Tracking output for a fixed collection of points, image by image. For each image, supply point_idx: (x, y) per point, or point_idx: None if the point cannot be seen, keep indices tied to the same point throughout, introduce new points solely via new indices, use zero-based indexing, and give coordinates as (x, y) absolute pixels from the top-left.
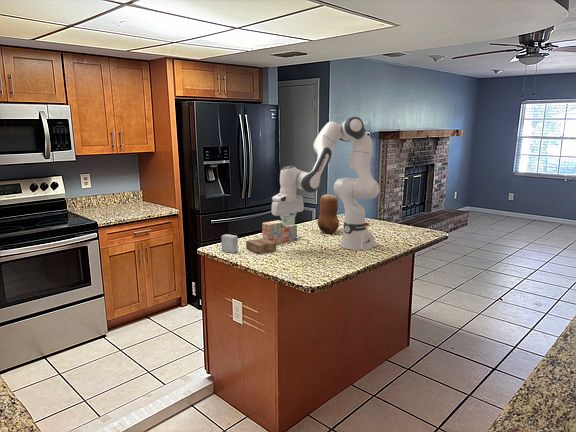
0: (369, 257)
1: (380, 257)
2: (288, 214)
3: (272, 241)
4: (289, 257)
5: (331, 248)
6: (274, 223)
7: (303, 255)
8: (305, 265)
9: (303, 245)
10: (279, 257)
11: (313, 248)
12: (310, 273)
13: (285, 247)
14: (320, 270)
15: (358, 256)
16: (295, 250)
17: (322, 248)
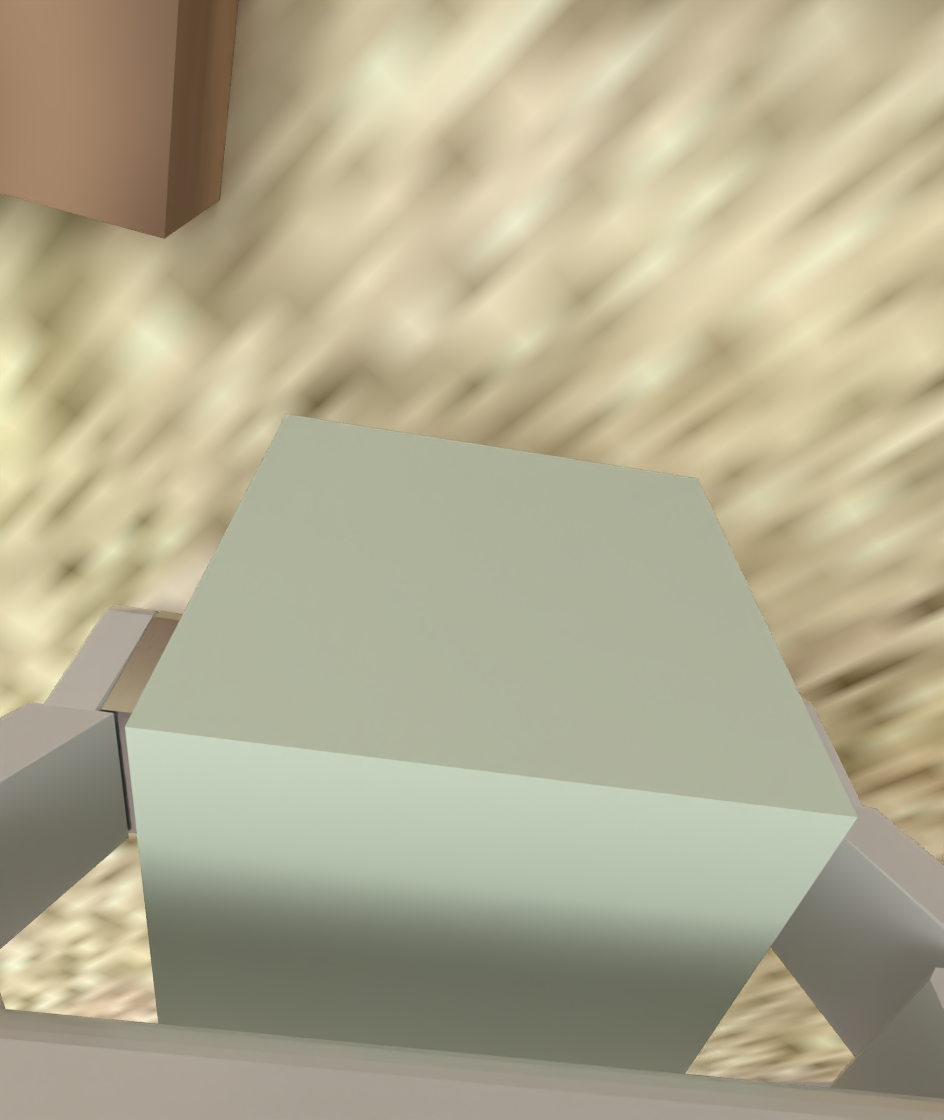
0: (789, 1020)
1: (840, 1055)
2: (714, 867)
3: (158, 60)
4: (173, 596)
5: (934, 710)
6: None
7: None
8: (137, 849)
9: (901, 331)
10: (41, 506)
11: (802, 559)
12: (31, 959)
13: (557, 155)
14: None
15: (765, 971)
16: (518, 437)
17: (873, 640)
